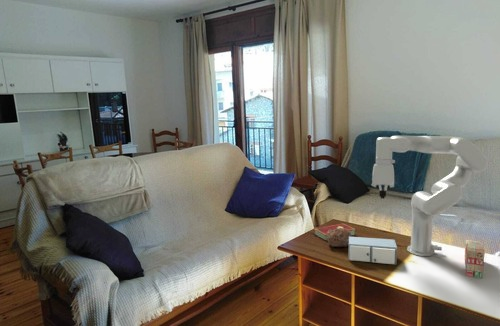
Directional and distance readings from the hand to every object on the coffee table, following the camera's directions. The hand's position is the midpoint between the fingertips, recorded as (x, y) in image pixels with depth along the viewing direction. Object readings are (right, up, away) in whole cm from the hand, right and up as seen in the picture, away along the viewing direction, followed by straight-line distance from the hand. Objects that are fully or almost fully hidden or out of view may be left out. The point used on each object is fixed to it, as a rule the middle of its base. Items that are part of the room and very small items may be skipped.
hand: (382, 197), depth 176 cm
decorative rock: (-18, -28, +15) cm, 36 cm away
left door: (-3, -31, -9) cm, 32 cm away
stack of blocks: (+37, -31, -14) cm, 50 cm away
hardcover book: (-17, -26, +31) cm, 44 cm away
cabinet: (-6, -30, -2) cm, 31 cm away
